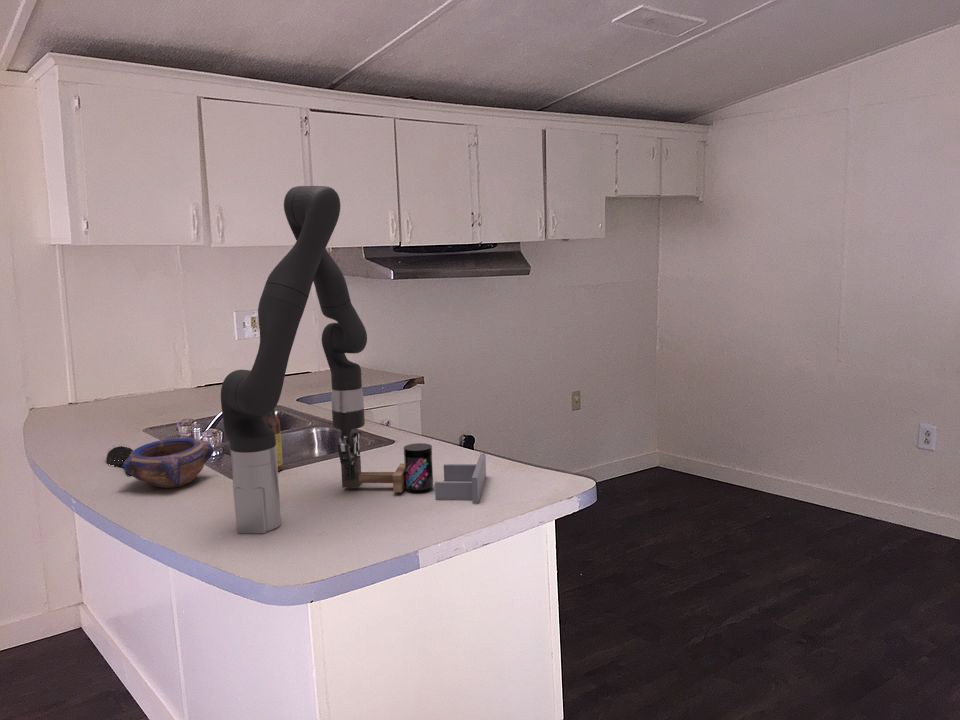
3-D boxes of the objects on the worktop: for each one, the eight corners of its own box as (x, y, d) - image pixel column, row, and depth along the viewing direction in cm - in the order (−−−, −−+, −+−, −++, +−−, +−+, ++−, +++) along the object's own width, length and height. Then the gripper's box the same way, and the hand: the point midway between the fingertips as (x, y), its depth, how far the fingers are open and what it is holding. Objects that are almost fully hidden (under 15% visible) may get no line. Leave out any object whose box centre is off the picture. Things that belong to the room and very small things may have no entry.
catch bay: (477, 503, 181) (477, 477, 180) (433, 503, 182) (432, 477, 181) (486, 476, 200) (485, 453, 199) (446, 476, 201) (445, 453, 200)
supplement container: (399, 489, 192) (397, 447, 191) (421, 483, 197) (420, 441, 195) (416, 495, 187) (415, 452, 186) (439, 489, 192) (437, 446, 190)
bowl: (115, 491, 197) (111, 452, 196) (167, 471, 214) (163, 434, 212) (174, 498, 191) (171, 457, 190) (223, 476, 208) (220, 438, 206)
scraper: (401, 492, 188) (400, 463, 187) (338, 492, 189) (336, 463, 188) (409, 479, 197) (408, 451, 196) (349, 479, 199) (347, 451, 198)
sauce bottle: (257, 469, 213) (251, 395, 210) (281, 466, 215) (275, 393, 212) (260, 475, 207) (255, 399, 204) (285, 472, 209) (280, 397, 206)
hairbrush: (117, 470, 207) (102, 445, 228) (118, 484, 208) (103, 458, 228) (151, 465, 211) (133, 441, 232) (152, 478, 212) (134, 453, 233)
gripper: (340, 401, 198) (343, 469, 201) (324, 413, 184) (328, 486, 187) (370, 400, 197) (373, 469, 200) (356, 413, 183) (360, 486, 186)
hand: (351, 477), depth 193 cm, fingers closed on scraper, 3 cm apart
